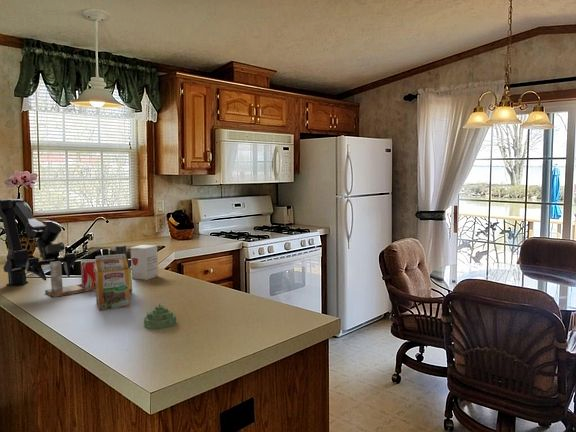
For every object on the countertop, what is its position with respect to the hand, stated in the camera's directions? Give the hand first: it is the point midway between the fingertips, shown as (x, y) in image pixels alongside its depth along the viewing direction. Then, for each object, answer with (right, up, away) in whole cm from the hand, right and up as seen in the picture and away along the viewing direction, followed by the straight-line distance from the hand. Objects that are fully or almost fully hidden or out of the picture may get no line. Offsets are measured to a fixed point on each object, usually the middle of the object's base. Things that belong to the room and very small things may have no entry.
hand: (57, 278), depth 195 cm
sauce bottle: (+27, -7, +1) cm, 28 cm away
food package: (+29, -8, -17) cm, 34 cm away
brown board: (+5, -6, +7) cm, 10 cm away
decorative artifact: (+53, -10, -41) cm, 68 cm away
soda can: (+9, -6, +11) cm, 16 cm away
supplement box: (+26, -4, +31) cm, 41 cm away
